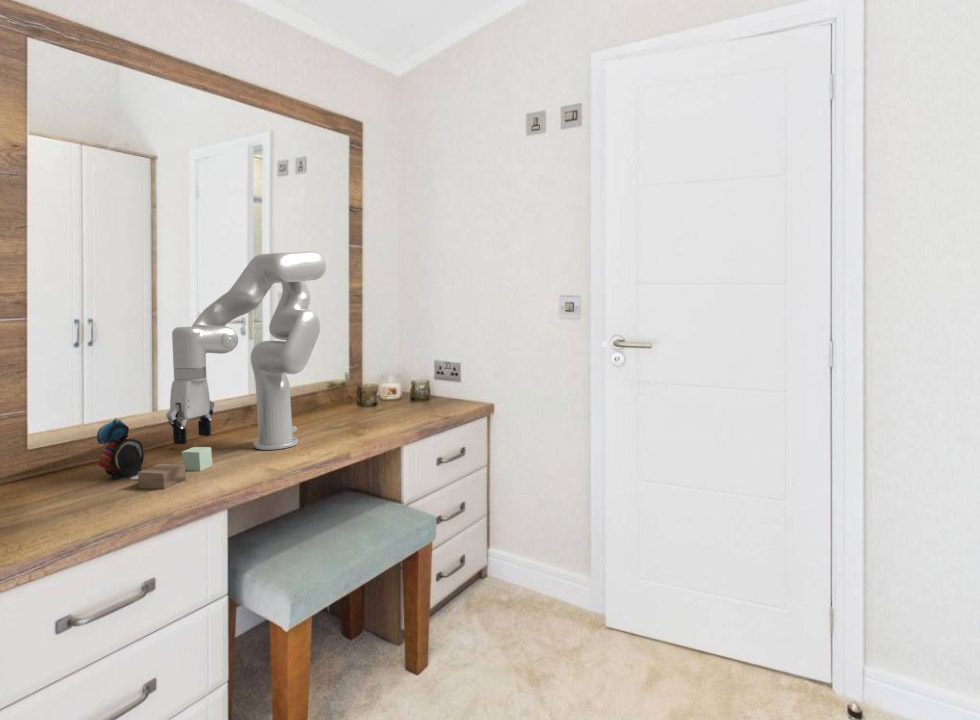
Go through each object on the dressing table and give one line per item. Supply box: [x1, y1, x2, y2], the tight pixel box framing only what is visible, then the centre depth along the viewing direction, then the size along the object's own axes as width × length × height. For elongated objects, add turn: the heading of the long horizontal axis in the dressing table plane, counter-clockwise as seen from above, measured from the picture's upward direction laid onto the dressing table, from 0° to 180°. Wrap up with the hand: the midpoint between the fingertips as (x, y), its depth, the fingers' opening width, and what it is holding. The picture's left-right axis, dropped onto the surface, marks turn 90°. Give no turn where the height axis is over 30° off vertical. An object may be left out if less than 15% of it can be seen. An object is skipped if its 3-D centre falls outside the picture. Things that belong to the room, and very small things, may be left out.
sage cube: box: [181, 446, 213, 472], centre depth 151 cm, size 5×5×5 cm
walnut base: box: [137, 463, 187, 490], centre depth 138 cm, size 7×7×4 cm
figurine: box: [96, 417, 145, 481], centre depth 145 cm, size 10×7×15 cm
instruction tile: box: [130, 474, 138, 481], centre depth 145 cm, size 8×5×1 cm, turn 171°
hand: (192, 439), depth 150 cm, fingers open, 9 cm apart
